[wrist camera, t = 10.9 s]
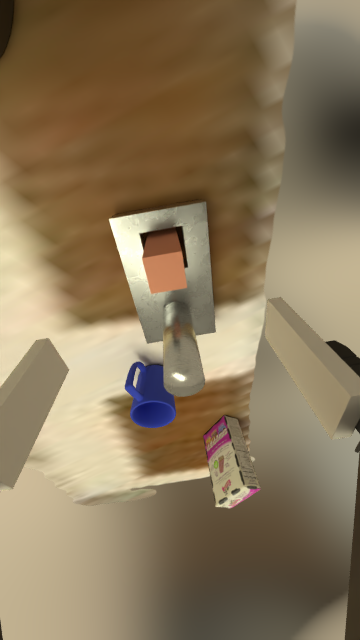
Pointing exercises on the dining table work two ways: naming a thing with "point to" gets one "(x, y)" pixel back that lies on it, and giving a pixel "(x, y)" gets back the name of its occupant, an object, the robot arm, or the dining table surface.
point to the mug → (150, 397)
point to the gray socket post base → (177, 305)
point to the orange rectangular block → (164, 261)
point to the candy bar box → (229, 463)
